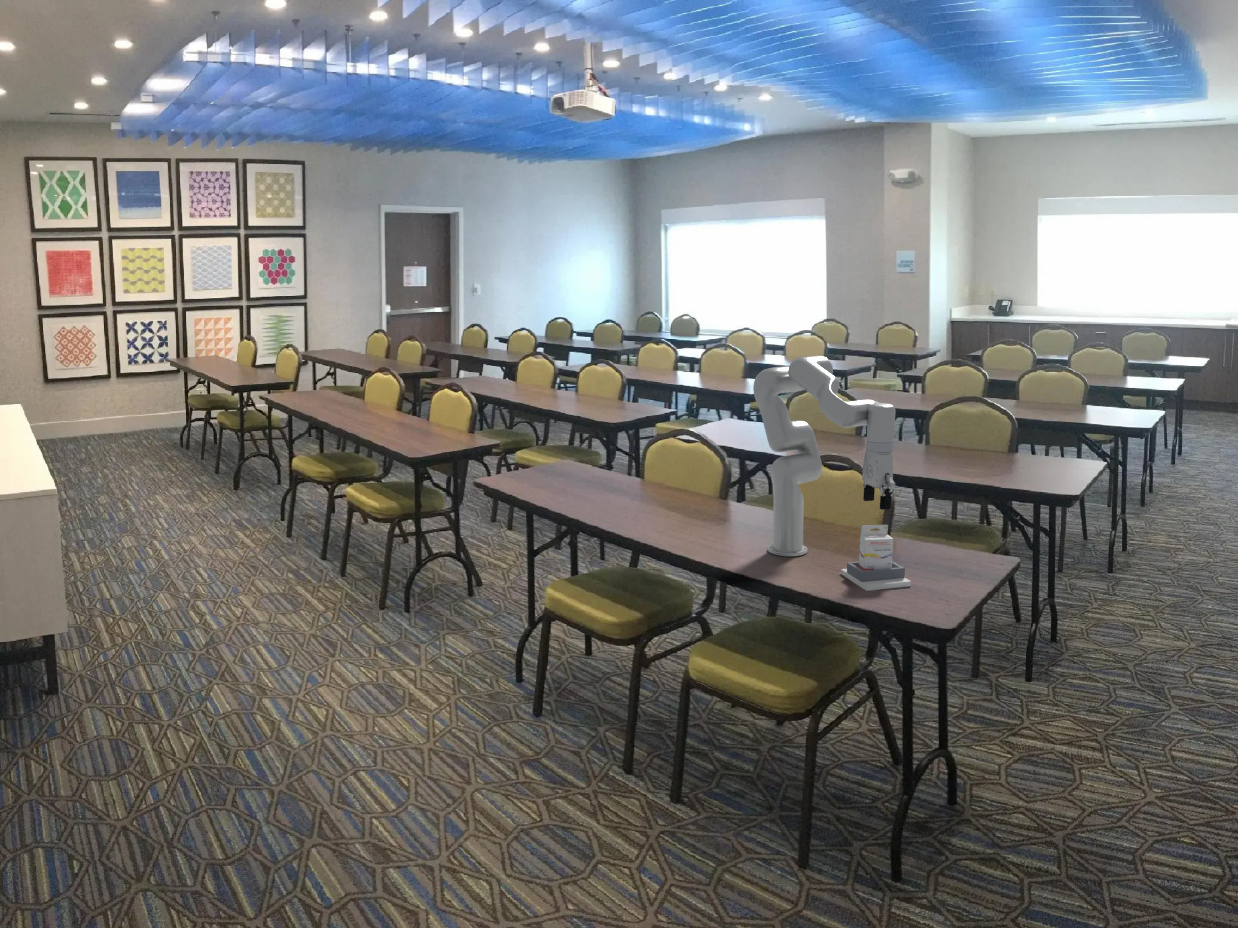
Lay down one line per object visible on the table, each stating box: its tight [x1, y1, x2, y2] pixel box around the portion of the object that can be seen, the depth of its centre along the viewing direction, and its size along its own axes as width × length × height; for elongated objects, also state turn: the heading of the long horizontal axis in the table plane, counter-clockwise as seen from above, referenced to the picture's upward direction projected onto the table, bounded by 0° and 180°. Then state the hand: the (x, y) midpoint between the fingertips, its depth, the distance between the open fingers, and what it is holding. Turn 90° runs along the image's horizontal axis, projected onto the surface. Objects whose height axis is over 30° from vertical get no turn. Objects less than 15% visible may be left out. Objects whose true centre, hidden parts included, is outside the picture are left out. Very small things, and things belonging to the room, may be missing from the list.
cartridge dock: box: [840, 560, 912, 592], centre depth 281 cm, size 16×14×4 cm
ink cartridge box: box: [858, 524, 894, 571], centre depth 280 cm, size 9×5×15 cm, turn 95°
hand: (876, 504), depth 277 cm, fingers open, 9 cm apart
